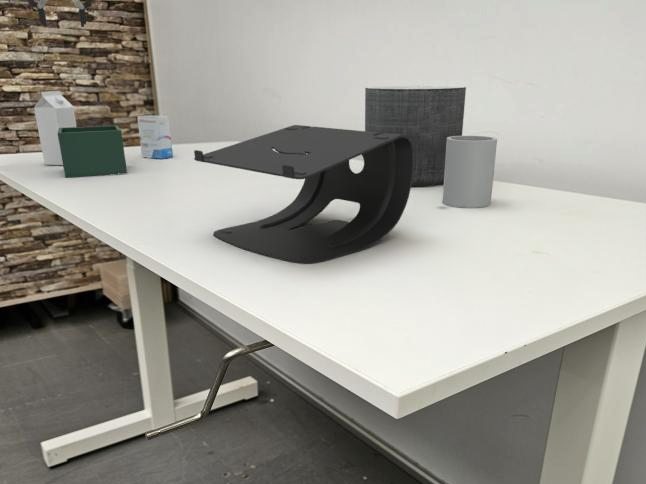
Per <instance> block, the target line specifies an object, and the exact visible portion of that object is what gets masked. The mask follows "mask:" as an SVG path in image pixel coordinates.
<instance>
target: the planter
mask: <svg viewBox="0 0 646 484" xmlns="http://www.w3.org/2000/svg"><path fill="white" fill-rule="evenodd" d="M364 90H365V91H364V93H365V94H364V131H367V132H378V133H382V134H384V133H388V134H399V135H406V136H407V137H408V138H409V139H410V140H411V142H412V146H413V176H412V184H411V187H433V186H434V187H435V186H442V185H443V186H444V172H445V158H446V143H447V137H452V136H463V130H464V117H465V106H466V105H465V104H466V93H467V92H466V91H467V86H462V85H438V84H437V85H436V84H435V85H428V84H427V85H424V84H423V85H421V84H419V85H415V84H413V85H379V86H377V85H376V86H367V87H365V89H364Z"/></svg>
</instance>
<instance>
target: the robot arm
mask: <svg viewBox="0 0 646 484" xmlns="http://www.w3.org/2000/svg"><path fill="white" fill-rule="evenodd" d="M48 1H49V0H38V2H37V1H35V0H27V2H28V5H29V6H30V7H32V8H35V9H36V10H37V12H38V17H39V22H40V24H41V25H43V27H44V28H48V21H47V17H46V10H45V8H44V7H45V5H46V4H47V2H48ZM71 1H72V2H73V4H75V6H76V7H77V8H78V15H79V22H80V27H81V28H85V26H86V25H87V15H86V10H87V9H89V8H91V7H92V5H93V4H92V0H84V1H85V2H81V0H71Z"/></svg>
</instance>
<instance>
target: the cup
mask: <svg viewBox="0 0 646 484" xmlns="http://www.w3.org/2000/svg"><path fill="white" fill-rule="evenodd" d="M497 145H498V137H494V136H487V135H462V136H452V137H447V143H446V158H445V172H444V184H443V188H442V204H443V205H446V206H450V207H454V208H455V207H456V208H464V209H465V208H466V209H477V208H485V207H489V206H490V205H491V204H492V196H493V195H492V194H493V186H494V185H493V183H494V174H495V165H496V164H495V163H496V156H497V155H496V154H497Z"/></svg>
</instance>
